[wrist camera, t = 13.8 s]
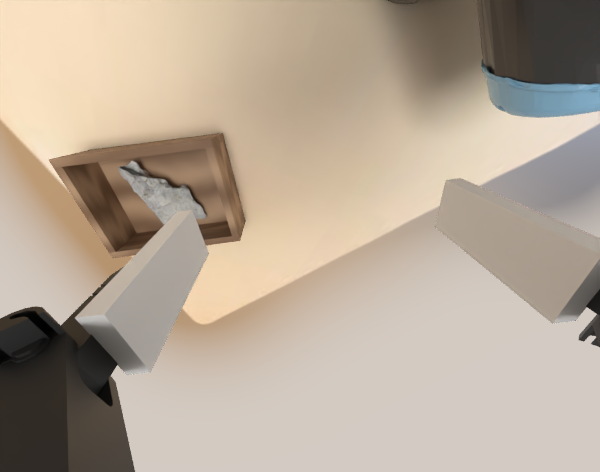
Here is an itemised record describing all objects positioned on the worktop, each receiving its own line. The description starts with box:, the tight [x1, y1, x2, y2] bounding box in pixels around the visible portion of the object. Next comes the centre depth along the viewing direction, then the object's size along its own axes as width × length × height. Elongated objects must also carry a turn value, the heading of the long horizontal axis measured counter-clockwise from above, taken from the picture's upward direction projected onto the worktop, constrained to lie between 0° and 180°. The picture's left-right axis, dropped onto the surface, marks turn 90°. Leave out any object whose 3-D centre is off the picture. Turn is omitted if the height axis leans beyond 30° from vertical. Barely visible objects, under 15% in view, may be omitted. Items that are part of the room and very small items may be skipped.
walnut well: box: [49, 133, 245, 258], centre depth 35 cm, size 15×20×7 cm
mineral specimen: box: [118, 161, 206, 225], centre depth 35 cm, size 6×12×4 cm, turn 23°
